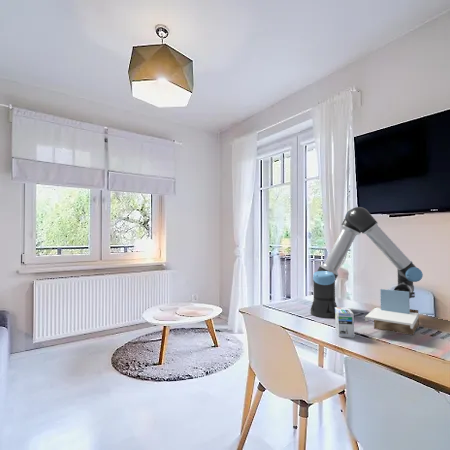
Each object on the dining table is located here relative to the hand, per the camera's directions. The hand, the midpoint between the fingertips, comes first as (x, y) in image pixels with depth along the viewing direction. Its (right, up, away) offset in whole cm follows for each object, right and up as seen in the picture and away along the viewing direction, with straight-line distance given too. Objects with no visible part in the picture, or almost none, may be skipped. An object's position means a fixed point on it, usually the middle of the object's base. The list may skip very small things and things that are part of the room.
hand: (395, 298), depth 147 cm
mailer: (+2, -14, +2) cm, 14 cm away
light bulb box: (-27, -14, -8) cm, 32 cm away
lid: (-5, -8, -6) cm, 11 cm away
